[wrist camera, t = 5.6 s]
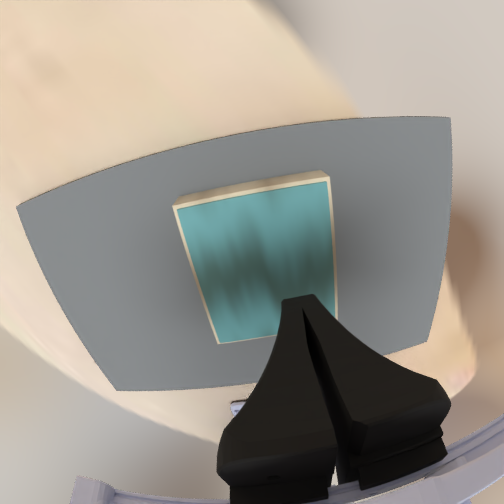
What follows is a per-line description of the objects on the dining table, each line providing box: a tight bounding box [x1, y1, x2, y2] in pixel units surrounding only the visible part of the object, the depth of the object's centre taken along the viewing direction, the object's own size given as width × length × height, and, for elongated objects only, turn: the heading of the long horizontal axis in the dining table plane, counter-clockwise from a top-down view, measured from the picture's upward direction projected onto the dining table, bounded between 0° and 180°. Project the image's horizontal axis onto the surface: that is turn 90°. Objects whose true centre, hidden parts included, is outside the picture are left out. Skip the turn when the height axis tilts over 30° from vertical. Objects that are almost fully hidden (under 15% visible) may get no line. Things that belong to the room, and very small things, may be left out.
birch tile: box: [172, 170, 338, 344], centre depth 16 cm, size 9×2×8 cm
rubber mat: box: [16, 116, 452, 391], centre depth 18 cm, size 18×28×1 cm, turn 101°
